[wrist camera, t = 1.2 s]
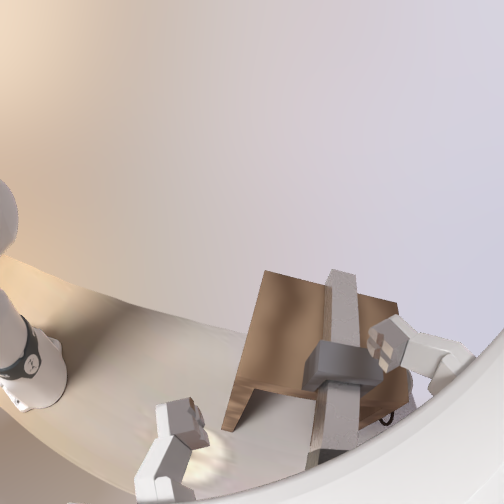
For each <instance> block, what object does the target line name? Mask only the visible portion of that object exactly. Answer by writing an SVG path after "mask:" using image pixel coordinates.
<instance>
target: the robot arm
mask: <svg viewBox="0 0 504 504" xmlns="http://www.w3.org/2000/svg"><path fill="white" fill-rule="evenodd" d="M17 229H18V211H17V205H16V202H15V199H14V196H13V194H12V192H11V191H10V189H9V188H8V186H7V185H6V184H5V183H4V182H3V181H2V180H0V256H1V255H2V254H3V253H4V252H5V251H6V250H7V249H8V248H9V247H10V246H11V245H12V244H13V243H14V241H15V239H16V234H17ZM368 334H369V335H370V337H369V338H368V340H367V348H368V351H369V353H370V354H371V356H372V357H373V358H375V359H378V364H379V365H380V367H381V368H382V369H383V370H384V371H385V373H388V372H390V371H391V370H393V369H395V368H396V367H398V366H401V367H404V368H406V369H408V370H411V371H413V372H416V373H418V374H420V375H423V376H425V377H428V378H431V379H432V380H431V382H430V384H429V386H428V390H429V392H430V393H431V394H432V395H433V397H432V398H431V399H430V400H428V401H427V402H426V403H424V404H423V405H422V406H420V407H419V408H418V409H416V410H415V411H413V412H412V413H411V414H409V415H408V416H406V417H405V418H403V419H402V420H400V421H399V422H397V423H396V424H394V425H393V426H391V427H390V428H388V429H386V430H385V431H383V432H382V433H380V434H378V435H377V436H375V437H373V438H371V439H370V440H368V441H366V442H364V443H363V444H361V445H359V446H357V447H355V448H353V449H351V450H349V451H347V452H345V453H343V454H341V455H339V456H337V457H335V458H333V459H331V460H329V461H327V462H324V463H322V464H320V465H318V466H315V467H313V468H310V469H308V470H305V471H303V472H300V473H298V474H295V475H292V476H290V477H287V478H284V479H281V480H278V481H275V482H272V483H269V484H266V485H262V486H259V487H256V488H252V489H248V490H244V491H241V492H236V493H232V494H228V495H223V496H218V497H213V498H208V499H202V500H196V498H195V494H194V491H193V490H192V489H190V488H188V487H186V486H184V485H182V484H181V482H182V479H183V476H184V473H185V470H186V468H187V465H188V462H189V459H190V456H191V453H192V451H191V450H196V449H200V448H204V447H208V446H210V444H209V439H208V435H207V433H206V431H205V430H204V429H203V428H204V425H205V423H204V419H203V416H202V413H201V411H200V409H199V408H198V406H196V405H194V401H193V400H192V398H191V397H189V398H185V399H180V400H176V401H172V402H166V403H162V404H157V405H156V420H157V430H158V438H155V440H154V442H153V444H152V446H151V448H150V450H149V451H148V453H147V455H146V457H145V459H144V461H143V463H142V465H141V467H140V468H139V470H138V472H137V474H136V476H135V478H134V482H135V491H136V498H137V504H504V329H503V330H502V331H501V332H500V333H499V335H498V336H497V337H496V338H495V339H494V340H493V341H492V343H491V344H490V345H489V346H488V347H487V348H486V349H485V350H484V351H483V352H482V353H481V354H480V355H479V356H478V357H477V358H476V357H475V356H474V355H473V354H472V353H471V352H470V351H469V350H468V349H467V348H466V347H465V346H464V345H463V344H462V343H461V342H456V341H452V340H448V339H444V338H440V337H436V336H432V335H429V334H425V333H419V334H418V333H417V332H416V331H415V330H414V329H413V328H412V327H411V326H410V325H409V324H408V323H407V322H405V321H404V320H403V319H402V318H401V317H400V316H399V315H397V314H395V315H393V316H391V317H389V318H388V319H385V320H383V321H382V322H380V323H378V324H376V325H374V326H373V327H371V328H370V329H369V331H368ZM66 382H67V370H66V365H65V362H64V360H63V358H62V346H61V343H60V342H59V341H58V340H57V339H54V338H51V337H48V336H46V335H45V333H44V332H43V331H42V330H41V329H37V328H34V327H32V326H31V325H30V324H29V322H28V321H27V320H26V319H25V318H24V317H23V316H22V315H20V314H19V313H18V311H17V310H16V308H15V307H14V305H13V304H12V302H11V301H10V299H9V298H8V296H7V294H6V293H5V292H4V291H3V290H2V289H1V288H0V386H1V387H2V388H3V389H4V391H5V392H6V394H7V395H8V396H9V398H10V399H11V400H12V402H13V403H14V404H15V406H16V407H17V408H18V409H19V410H20V411H21V412H27V411H29V410H31V409H33V408H46V407H49V406H51V405H52V404H54V403H55V402H56V401H57V400H58V399H59V398H60V397H61V395H62V393H63V391H64V389H65V386H66ZM19 401H20V402H19ZM18 402H19V403H18ZM67 504H86V503H77V502H70V503H67Z"/></svg>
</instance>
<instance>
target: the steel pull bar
mask: <svg viewBox="0 0 504 504" xmlns="http://www.w3.org/2000/svg"><path fill="white" fill-rule="evenodd" d="M323 340H325V341H330V342H335V343H340V344H345V345H350V346H356V347H360V333H359V313H358V298H357V286H356V276H355V275H353V274H350V273H345V272H342V271H338V270H334V269H332V270H331V272H330V274H329V277H328V279H327V281H326V283H325V302H324V324H323ZM359 408H360V384H355V383H348V382H341V381H334V380H328V379H326V380H325V381H324V382H323V383H322V384H321V385H320V386H319V387H318V396H317V405H316V413H315V421H314V428H313V435H312V442H311V448H310V452H309V453H308V457H307V463H306V468H305V470H308V469H310V468H313V467H315V466H318V465H320V464H322V463H324V462H327V461H329V460H331V459H333V458H335V457H337V456H339V455H341V454H343V453H345V452H347V451H349V450H351V449H353V448H355V447H357V440H358V427H359Z"/></svg>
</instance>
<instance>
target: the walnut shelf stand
mask: <svg viewBox="0 0 504 504" xmlns="http://www.w3.org/2000/svg"><path fill="white" fill-rule="evenodd" d="M357 298H358V313H359V333H360V347H356V346H350V345H345V344H340V343H335V342H330V341H325V340H323V324H324V302H325V285H321V284H317V283H313V282H309V281H305V280H301V279H297V278H293V277H290V276H285V275H282V274H278V273H273V272H270V271H266V270H265V271H264V275H263V279H262V283H261V286H260V290H259V294H258V298H257V302H256V305H255V309H254V313H253V317H252V320H251V324H250V327H249V331H248V335H247V338H246V342H245V345H244V349H243V353H242V356H241V360H240V363H239V367H238V370H237V374H236V378H235V381H234V385H233V389H232V392H231V396H230V399H229V403H228V407H227V410H226V414H225V417H224V421H223V424H222V428H221V430H225V431H229V432H233V430H234V428H235V426H236V424H237V423H238V421H239V419H240V417H241V415H242V413H243V411H244V409H245V407H246V405H247V403H248V401H249V399H250V397H251V395H252V393H253V391H254V388H255V389H260V390H264V391H269V392H273V393H278V394H283V395H288V396H293V397H299V398H304V399H310V400H316V405H317V396H318V387H319V386H320V385H321V384H322V383H323V382H324V381H325V380H326V379H328V380H334V381H341V382H348V383H355V384H360V408H359V427H358V430H360V429H362V428H364V427H366V426H368V425H370V424H372V423H374V422H375V421H377V420H379V419H381V418H383V417H385V416H386V415H388V414H390V413H391V412H393V411H395V410H397V409H398V408H400V407H401V406H403V405H405V404H406V403H408V402H409V396H408V382H407V371H406V368H404V367H401V366H398V367H396V368H395V369H393V370H391V371H390V372H388V373H385V371H384V370H383V369H382V368H381V367H380V365H379V364H378V359H375V358H373V357H372V356H371V354H370V353H369V351H368V348H367V340H368V338H369V337H370V335H369V334H368V331H369V329H370V328H371V327H373V326H374V325H376V324H378V323H380V322H382V321H383V320H385V319H388V318H389V317H391V316H393V315H395V314H397V315H399V313H398V307H397V303H395V302H391V301H386V300H382V299H378V298H374V297H370V296H366V295H362V294H358V293H357ZM315 413H316V407H315ZM314 421H315V415H314ZM313 428H314V422H313ZM312 435H313V429H312ZM311 442H312V436H311ZM310 446H311V443H310Z"/></svg>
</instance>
